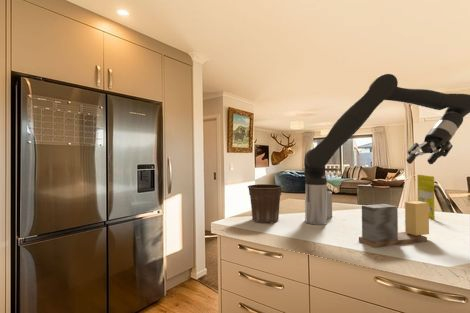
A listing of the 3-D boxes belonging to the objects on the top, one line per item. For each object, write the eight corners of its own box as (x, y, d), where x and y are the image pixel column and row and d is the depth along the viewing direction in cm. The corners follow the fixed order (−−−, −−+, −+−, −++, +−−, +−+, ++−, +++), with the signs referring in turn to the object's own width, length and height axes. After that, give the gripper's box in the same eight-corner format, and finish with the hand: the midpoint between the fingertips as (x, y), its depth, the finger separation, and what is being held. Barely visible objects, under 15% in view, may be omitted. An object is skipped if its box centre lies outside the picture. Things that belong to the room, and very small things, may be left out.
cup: (335, 217, 125) (335, 192, 125) (317, 218, 124) (317, 193, 124) (327, 213, 134) (327, 190, 134) (310, 214, 133) (310, 191, 133)
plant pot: (276, 226, 109) (275, 188, 110) (242, 222, 117) (241, 186, 117) (287, 218, 124) (286, 185, 124) (256, 215, 131) (256, 183, 132)
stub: (415, 235, 89) (415, 203, 89) (405, 232, 93) (405, 202, 93) (429, 234, 91) (428, 202, 91) (418, 231, 94) (417, 201, 95)
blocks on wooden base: (374, 247, 82) (374, 208, 82) (358, 241, 89) (358, 205, 89) (426, 241, 88) (426, 204, 88) (408, 235, 95) (407, 201, 95)
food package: (435, 219, 119) (435, 176, 119) (433, 219, 119) (432, 176, 120) (419, 212, 134) (418, 174, 134) (416, 212, 134) (416, 174, 135)
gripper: (418, 129, 109) (397, 155, 106) (455, 124, 95) (431, 155, 92) (428, 141, 110) (407, 168, 107) (465, 139, 97) (442, 170, 93)
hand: (418, 162), depth 100 cm, fingers open, 8 cm apart
